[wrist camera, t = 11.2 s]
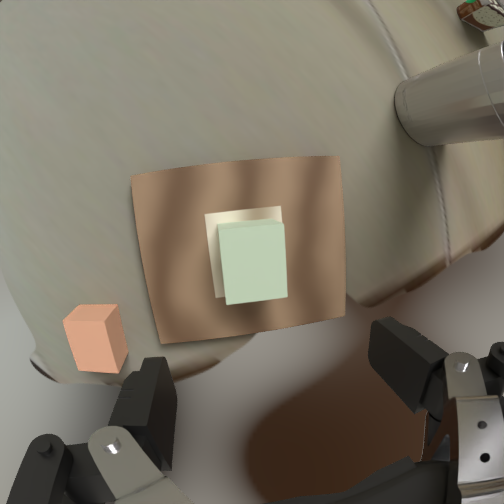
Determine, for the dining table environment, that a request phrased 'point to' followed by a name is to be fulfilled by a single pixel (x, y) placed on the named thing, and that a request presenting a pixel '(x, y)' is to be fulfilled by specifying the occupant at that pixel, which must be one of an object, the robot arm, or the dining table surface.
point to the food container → (482, 13)
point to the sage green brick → (253, 260)
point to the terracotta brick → (96, 338)
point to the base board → (208, 249)
